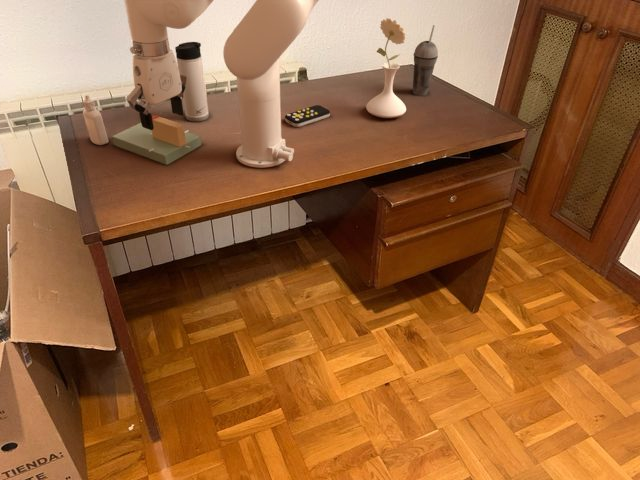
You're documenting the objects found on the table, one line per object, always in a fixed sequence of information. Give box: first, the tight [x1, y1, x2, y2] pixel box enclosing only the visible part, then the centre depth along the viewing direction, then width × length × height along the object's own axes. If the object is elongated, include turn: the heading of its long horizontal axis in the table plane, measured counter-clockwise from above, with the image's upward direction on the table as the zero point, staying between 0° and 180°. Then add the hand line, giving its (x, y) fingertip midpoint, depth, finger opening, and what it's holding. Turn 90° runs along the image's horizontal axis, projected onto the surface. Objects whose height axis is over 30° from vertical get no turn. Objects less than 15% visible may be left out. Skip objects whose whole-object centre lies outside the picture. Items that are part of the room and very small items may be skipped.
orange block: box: [151, 114, 186, 147], centre depth 118 cm, size 9×2×5 cm, turn 59°
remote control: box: [284, 104, 331, 128], centre depth 136 cm, size 6×13×2 cm, turn 130°
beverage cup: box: [412, 24, 439, 96], centre depth 147 cm, size 7×7×20 cm
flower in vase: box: [365, 17, 407, 119], centre depth 133 cm, size 13×11×25 cm
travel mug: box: [174, 41, 210, 123], centre depth 130 cm, size 6×7×20 cm
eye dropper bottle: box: [82, 94, 109, 146], centre depth 120 cm, size 4×6×12 cm
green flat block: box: [111, 122, 202, 166], centre depth 121 cm, size 20×13×3 cm, turn 59°
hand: (163, 120), depth 116 cm, fingers open, 9 cm apart
